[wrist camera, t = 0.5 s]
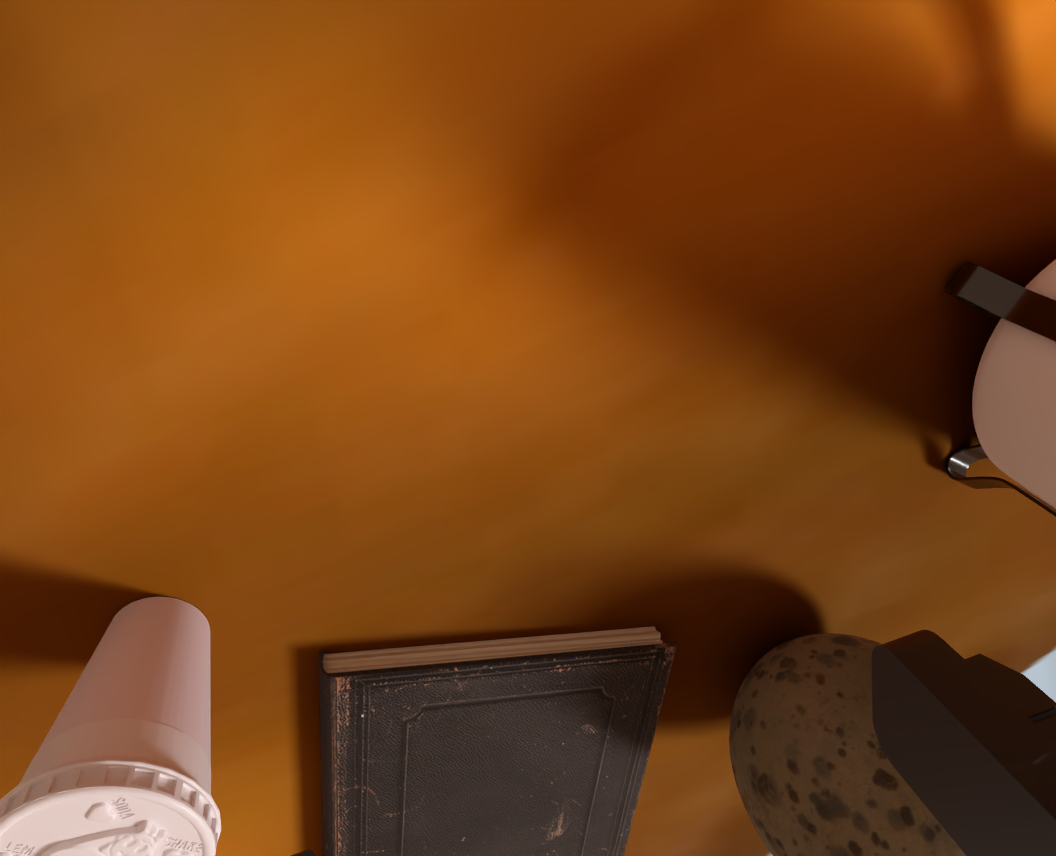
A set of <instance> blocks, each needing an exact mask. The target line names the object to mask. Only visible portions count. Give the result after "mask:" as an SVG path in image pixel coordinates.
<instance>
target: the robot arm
mask: <svg viewBox="0 0 1056 856" xmlns="http://www.w3.org/2000/svg"><path fill="white" fill-rule="evenodd" d="M872 716H873V725H874V730H875V733H876V736H877V738H878V741H879V743H880V745H881V747H882V749H883V751H884V753H885V755H886V756H887V758H888V759H889V761H890V762H891V764H892V765H893V766H894V768H895V769H896V770H897V772H898V773H899V774H900V775H901V776H902V778H903V779H904V780H905V781H906V783H907V784H908V785H909V786H910V787H911V789H912V790H913V791H914V792H915V794H916V795H917V796H918V797H919V798H920V800H921V801H922V802H923V803H924V805H925V806H926V807H927V808H928V809H929V811H930V812H931V813H932V814H933V816H934V817H935V818H936V819H937V820H938V822H939V823H940V824H941V825H942V827H943V828H944V829H945V830H946V832H947V833H948V834H949V835H950V836H951V838H952V839H953V840H954V841H955V843H956V844H957V845H958V846H959V847H960V849H961V850H962V851H963V852H964V854H965V855H966V856H1056V703H1055V702H1054V701H1053V700H1052V699H1051V698H1050V697H1048V696H1047V695H1046V694H1045V693H1044V692H1043V691H1042V690H1040V689H1039V688H1038V687H1037V686H1036V685H1035V684H1033V683H1032V682H1031V681H1030V680H1029V679H1028V678H1026V677H1025V676H1024V675H1023V674H1021V673H1019V672H1016V671H1014V670H1012V669H1010V668H1008V667H1006V666H1004V665H1002V664H1000V663H998V662H996V661H994V660H992V659H990V658H988V657H986V656H983V655H981V654H978V655H975V656H973V657H970V658H967V659H963V658H962V657H961V656H960V655H959V654H958V653H957V652H956V651H955V650H954V649H953V648H951V647H950V646H949V645H948V644H947V643H946V642H945V641H944V640H943V639H942V638H940V637H939V636H938V635H937V634H935V633H933V632H931V631H929V630H921V631H918V632H915V633H912V634H910V635H907V636H904V637H901V638H899V639H896V640H893V641H890V642H888V643H885V644H882V645H879V646H877V647H875V648H874V649H873V651H872ZM291 856H315V855H314V853H313V852H312V851H310V850H305V851H302V852H300V853H297V854H294V855H291Z"/></svg>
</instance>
